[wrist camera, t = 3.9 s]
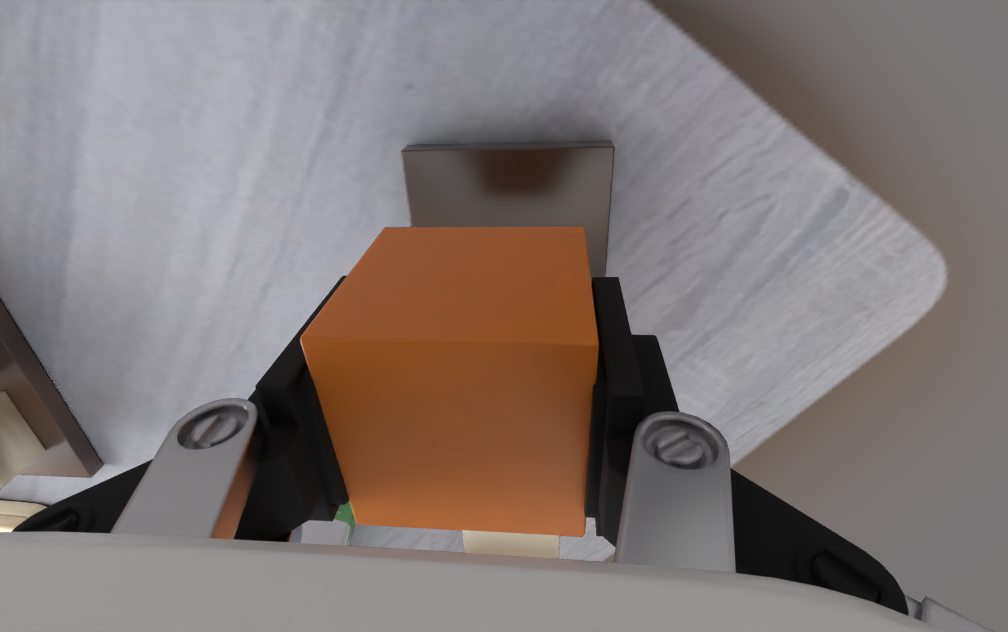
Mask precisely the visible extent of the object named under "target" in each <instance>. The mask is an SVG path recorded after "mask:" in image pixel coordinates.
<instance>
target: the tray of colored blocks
mask: <svg viewBox="0 0 1008 632" xmlns="http://www.w3.org/2000/svg"><path fill="white" fill-rule="evenodd" d="M102 467H103V464H102V462H101V461H100V459H99V458H98V456H97V454H96V453H95V451H94V449H93V448H92V446H91V445H90V443H89V441H88V440H87V438H86V437H85V435H84V433H83V432H82V430H81V429H80V427H79V425H78V424H77V422H76V421H75V419H74V417H73V416H72V414H71V413H70V411H69V409H68V408H67V406H66V405H65V403H64V401H63V400H62V398H61V397H60V395H59V393H58V392H57V390H56V389H55V387H54V385H53V384H52V382H51V381H50V379H49V377H48V376H47V374H46V373H45V371H44V369H43V368H42V366H41V365H40V363H39V361H38V360H37V358H36V357H35V355H34V353H33V352H32V350H31V349H30V347H29V345H28V344H27V342H26V340H25V339H24V337H23V336H22V334H21V332H20V331H19V329H18V328H17V326H16V324H15V323H14V321H13V320H12V318H11V316H10V315H9V313H8V312H7V310H6V308H5V307H4V305H3V304H2V302H1V300H0V489H1V488H3V487H4V486H5V485H6V484H7V483H8V482H10V481H11V480H12V479H13V478H14V477H15V476H17V475H37V476H62V477H86V478H91V477H93V476H94V475H95V474H96V473H97V472H98V471H99V470H100V469H101V468H102Z"/></svg>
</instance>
